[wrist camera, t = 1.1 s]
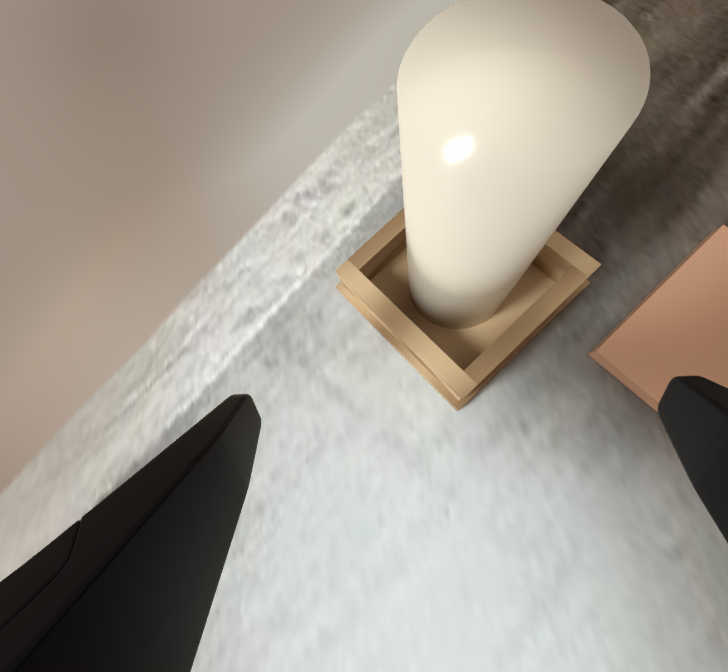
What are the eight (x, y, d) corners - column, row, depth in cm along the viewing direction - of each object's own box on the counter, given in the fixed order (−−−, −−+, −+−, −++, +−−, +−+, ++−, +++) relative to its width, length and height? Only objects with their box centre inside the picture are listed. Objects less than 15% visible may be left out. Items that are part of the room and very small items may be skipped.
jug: (507, 329, 21) (669, 168, 8) (408, 329, 22) (394, 185, 8) (501, 211, 23) (621, -87, 9) (410, 215, 24) (400, -51, 10)
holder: (582, 288, 22) (613, 264, 19) (456, 411, 21) (464, 409, 18) (452, 187, 25) (457, 150, 22) (338, 291, 24) (326, 270, 21)
